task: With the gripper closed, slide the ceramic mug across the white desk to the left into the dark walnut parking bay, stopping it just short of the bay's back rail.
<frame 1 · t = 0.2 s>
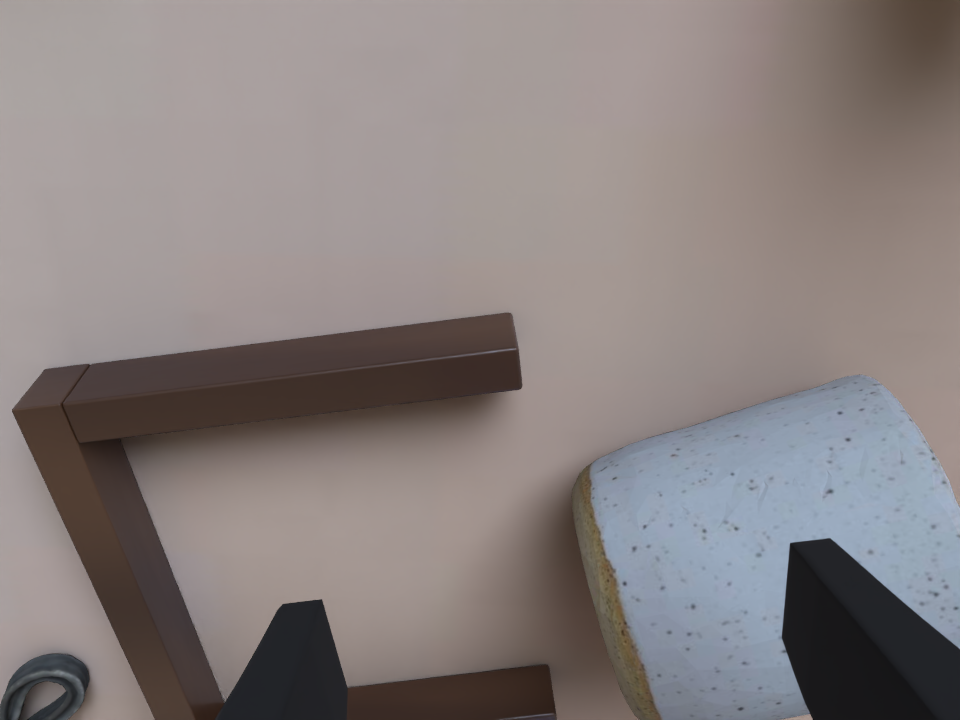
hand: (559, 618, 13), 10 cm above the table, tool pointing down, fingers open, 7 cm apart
ceramic mug: (731, 497, 25), on the table
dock: (352, 547, 25), on the table
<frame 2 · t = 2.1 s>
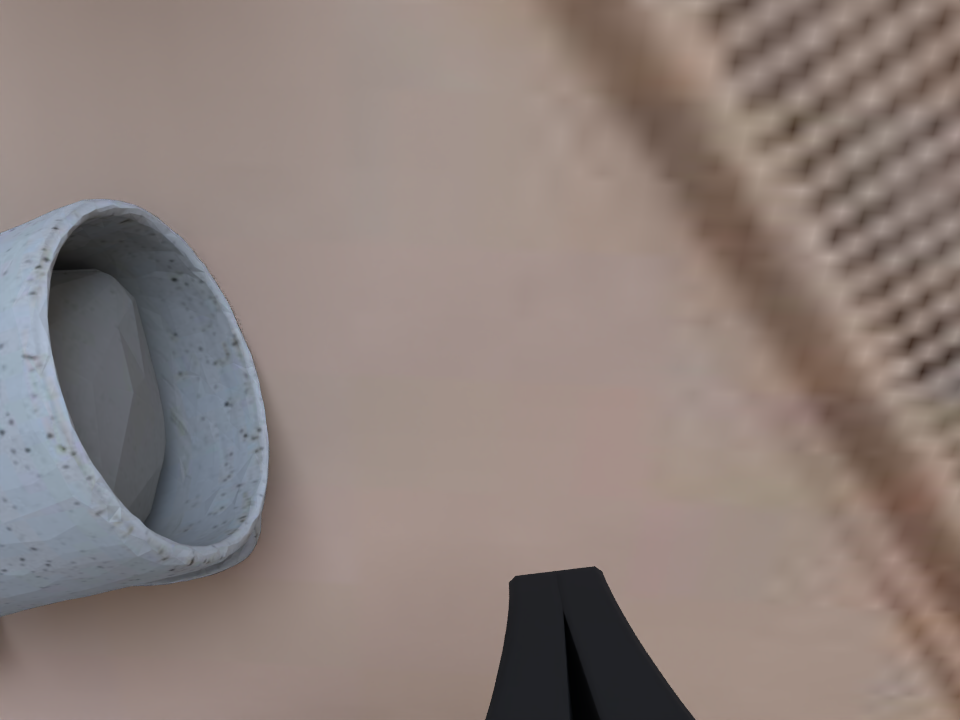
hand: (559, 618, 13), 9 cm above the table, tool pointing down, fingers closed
ceramic mug: (123, 381, 21), on the table
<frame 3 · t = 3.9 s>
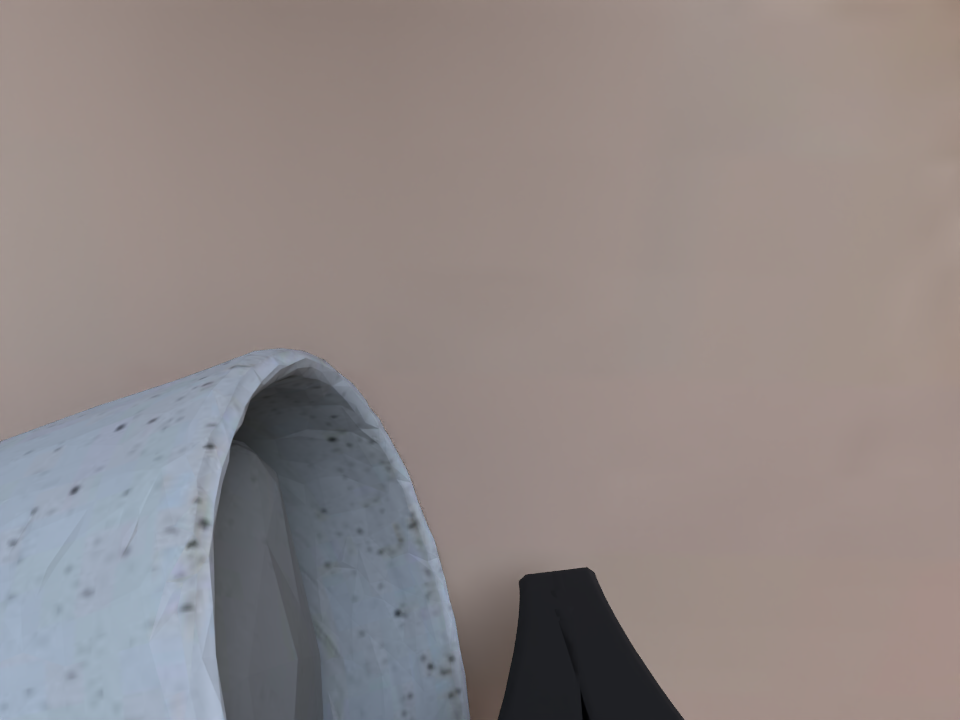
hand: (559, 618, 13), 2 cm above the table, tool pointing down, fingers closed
ceramic mug: (235, 563, 15), on the table, touching gripper
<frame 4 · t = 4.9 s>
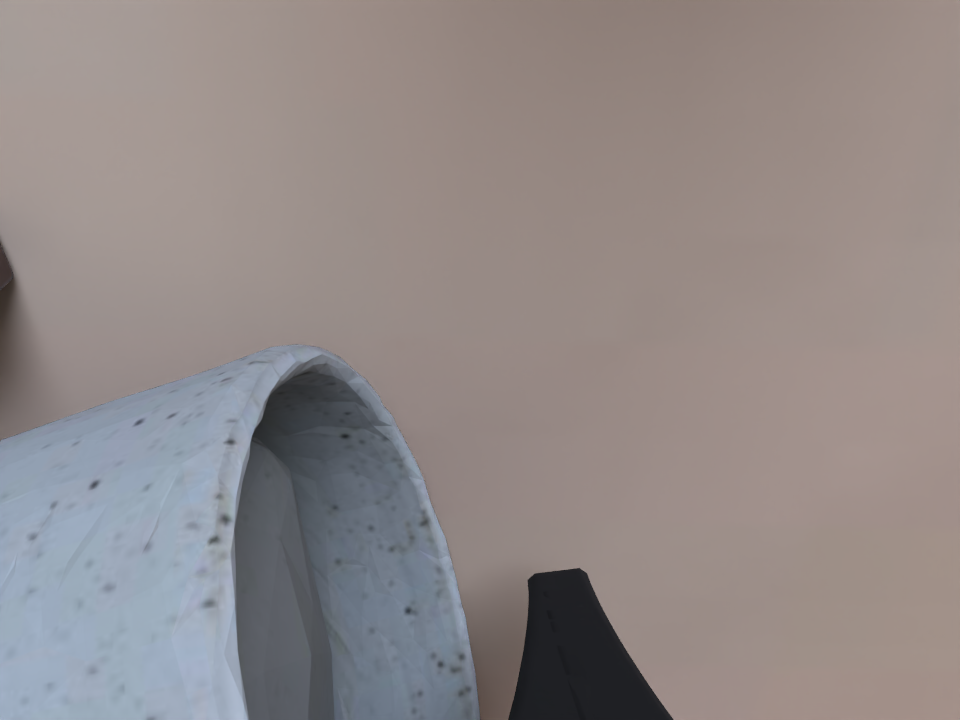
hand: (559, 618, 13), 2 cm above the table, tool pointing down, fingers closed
ceramic mug: (245, 559, 15), on the table, touching gripper
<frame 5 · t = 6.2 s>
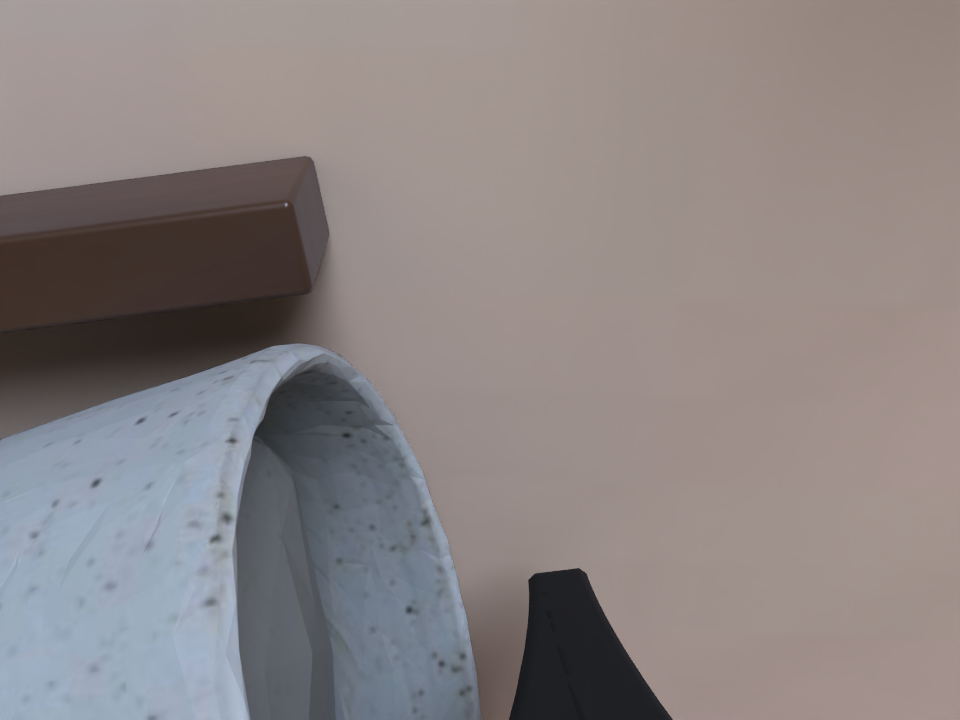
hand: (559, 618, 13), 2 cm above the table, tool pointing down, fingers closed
ceramic mug: (246, 558, 15), on the table, touching gripper
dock: (92, 593, 15), on the table
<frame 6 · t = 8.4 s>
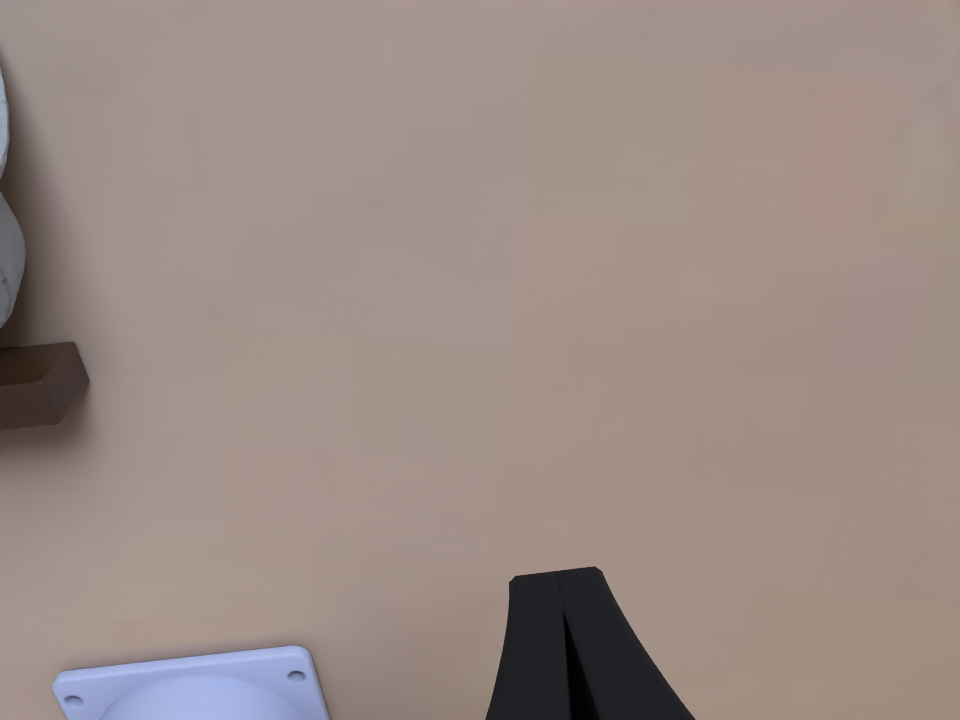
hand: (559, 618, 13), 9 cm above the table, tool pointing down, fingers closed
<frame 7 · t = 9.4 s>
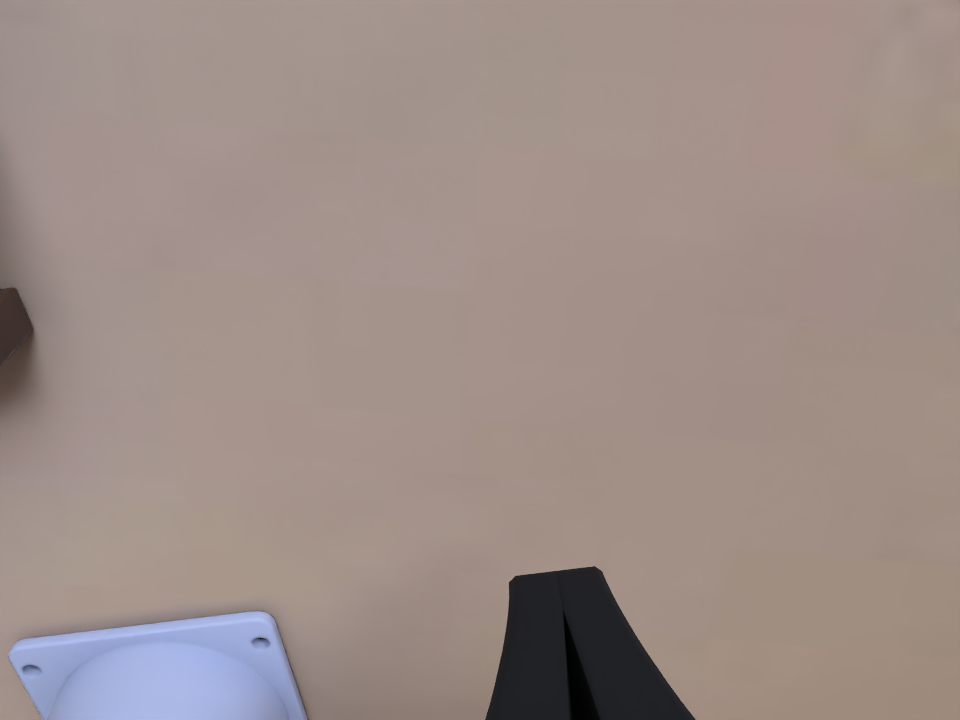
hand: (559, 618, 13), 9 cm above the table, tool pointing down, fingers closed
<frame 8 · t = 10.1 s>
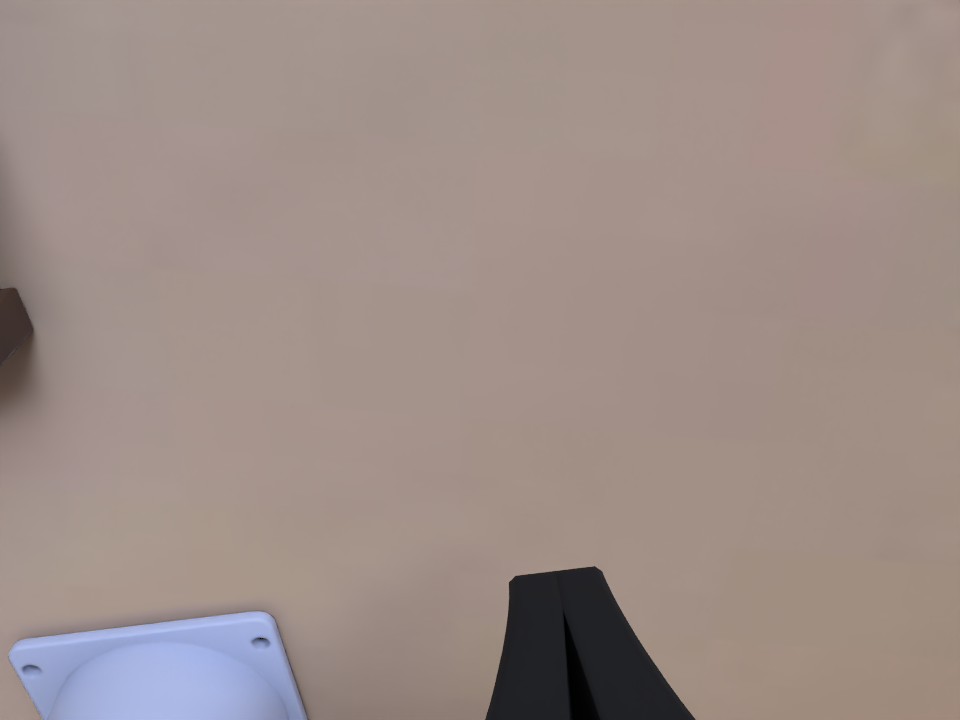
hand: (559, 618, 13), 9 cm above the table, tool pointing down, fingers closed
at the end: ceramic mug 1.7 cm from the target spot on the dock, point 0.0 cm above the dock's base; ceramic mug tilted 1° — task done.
